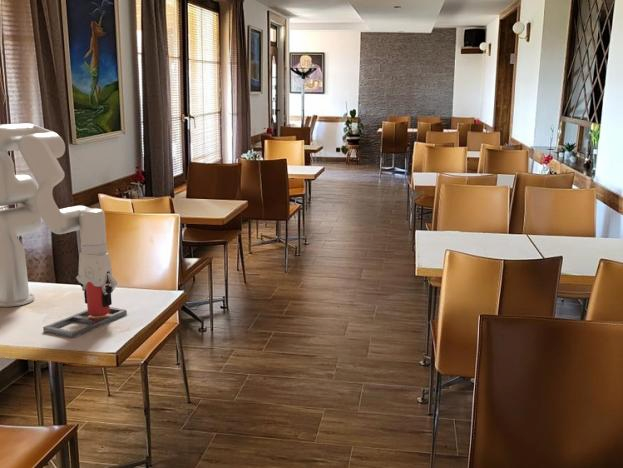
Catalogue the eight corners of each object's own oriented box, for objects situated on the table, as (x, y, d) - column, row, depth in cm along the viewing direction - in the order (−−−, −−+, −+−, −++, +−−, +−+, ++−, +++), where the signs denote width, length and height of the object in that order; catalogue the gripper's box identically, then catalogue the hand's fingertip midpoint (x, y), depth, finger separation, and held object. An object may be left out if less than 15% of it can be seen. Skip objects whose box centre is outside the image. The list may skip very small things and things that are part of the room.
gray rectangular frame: (43, 332, 187) (43, 327, 187) (99, 309, 207) (99, 305, 207) (72, 338, 182) (72, 333, 182) (126, 314, 202) (126, 310, 202)
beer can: (103, 317, 196) (100, 280, 193) (83, 316, 197) (80, 279, 194) (113, 310, 202) (111, 274, 199) (95, 309, 203) (92, 273, 201)
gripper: (64, 248, 195) (68, 303, 199) (106, 254, 188) (110, 311, 192) (82, 243, 202) (86, 296, 206) (124, 249, 194) (128, 304, 198)
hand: (98, 303), depth 199 cm, fingers open, 6 cm apart
